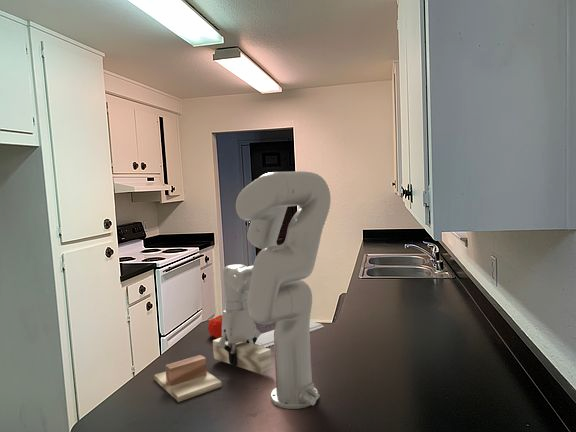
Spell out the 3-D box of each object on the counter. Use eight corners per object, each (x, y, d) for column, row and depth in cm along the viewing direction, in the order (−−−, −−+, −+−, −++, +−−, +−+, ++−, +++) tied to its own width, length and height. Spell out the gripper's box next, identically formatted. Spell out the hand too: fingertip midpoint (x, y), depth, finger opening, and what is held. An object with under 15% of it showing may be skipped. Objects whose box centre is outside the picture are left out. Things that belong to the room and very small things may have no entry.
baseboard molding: (327, 329, 168) (306, 323, 177) (326, 322, 167) (305, 316, 176) (265, 351, 147) (245, 343, 156) (264, 343, 147) (244, 335, 156)
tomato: (216, 330, 170) (215, 312, 169) (241, 332, 166) (240, 314, 166) (202, 340, 160) (201, 320, 159) (228, 342, 156) (227, 322, 156)
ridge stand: (221, 386, 121) (220, 364, 121) (178, 402, 113) (177, 378, 113) (194, 367, 135) (193, 347, 135) (154, 379, 128) (153, 358, 127)
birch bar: (272, 369, 127) (270, 349, 126) (261, 374, 123) (259, 353, 123) (224, 354, 141) (223, 336, 141) (213, 358, 138) (212, 340, 138)
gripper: (254, 297, 140) (257, 351, 140) (207, 308, 129) (211, 366, 130) (267, 301, 134) (270, 357, 135) (218, 312, 123) (223, 374, 124)
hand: (241, 361), depth 132 cm, fingers closed on birch bar, 5 cm apart
